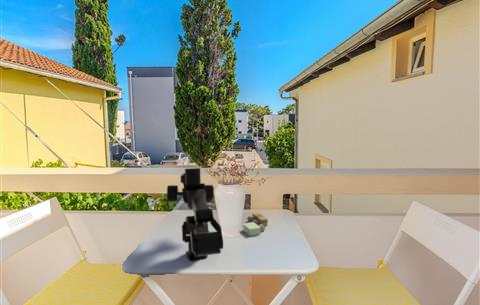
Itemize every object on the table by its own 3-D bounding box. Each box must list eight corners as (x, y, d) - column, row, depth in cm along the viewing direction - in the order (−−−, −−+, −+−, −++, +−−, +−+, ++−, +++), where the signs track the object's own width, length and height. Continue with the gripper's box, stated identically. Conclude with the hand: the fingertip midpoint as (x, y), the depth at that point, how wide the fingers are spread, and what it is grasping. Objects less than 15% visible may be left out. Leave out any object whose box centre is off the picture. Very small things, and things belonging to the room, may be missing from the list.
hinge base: (267, 225, 131) (267, 219, 130) (254, 227, 128) (255, 221, 128) (257, 218, 140) (257, 212, 139) (245, 220, 137) (245, 214, 137)
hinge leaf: (267, 232, 122) (267, 226, 122) (249, 236, 119) (249, 229, 119) (260, 227, 128) (260, 220, 128) (243, 230, 125) (243, 223, 125)
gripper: (216, 173, 112) (209, 172, 127) (168, 173, 107) (166, 172, 122) (216, 202, 112) (209, 197, 127) (167, 203, 107) (166, 198, 122)
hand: (188, 191), depth 124 cm, fingers open, 9 cm apart
